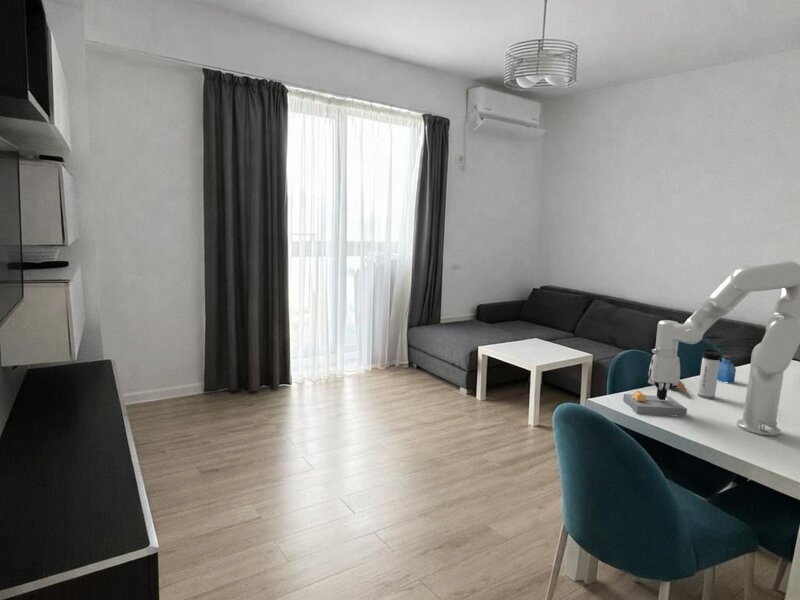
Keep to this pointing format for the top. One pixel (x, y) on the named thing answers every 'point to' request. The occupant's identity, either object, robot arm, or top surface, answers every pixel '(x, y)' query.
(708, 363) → the travel mug
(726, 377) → the perfume bottle
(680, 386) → the bird sculpture
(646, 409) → the console
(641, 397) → the fader knob
